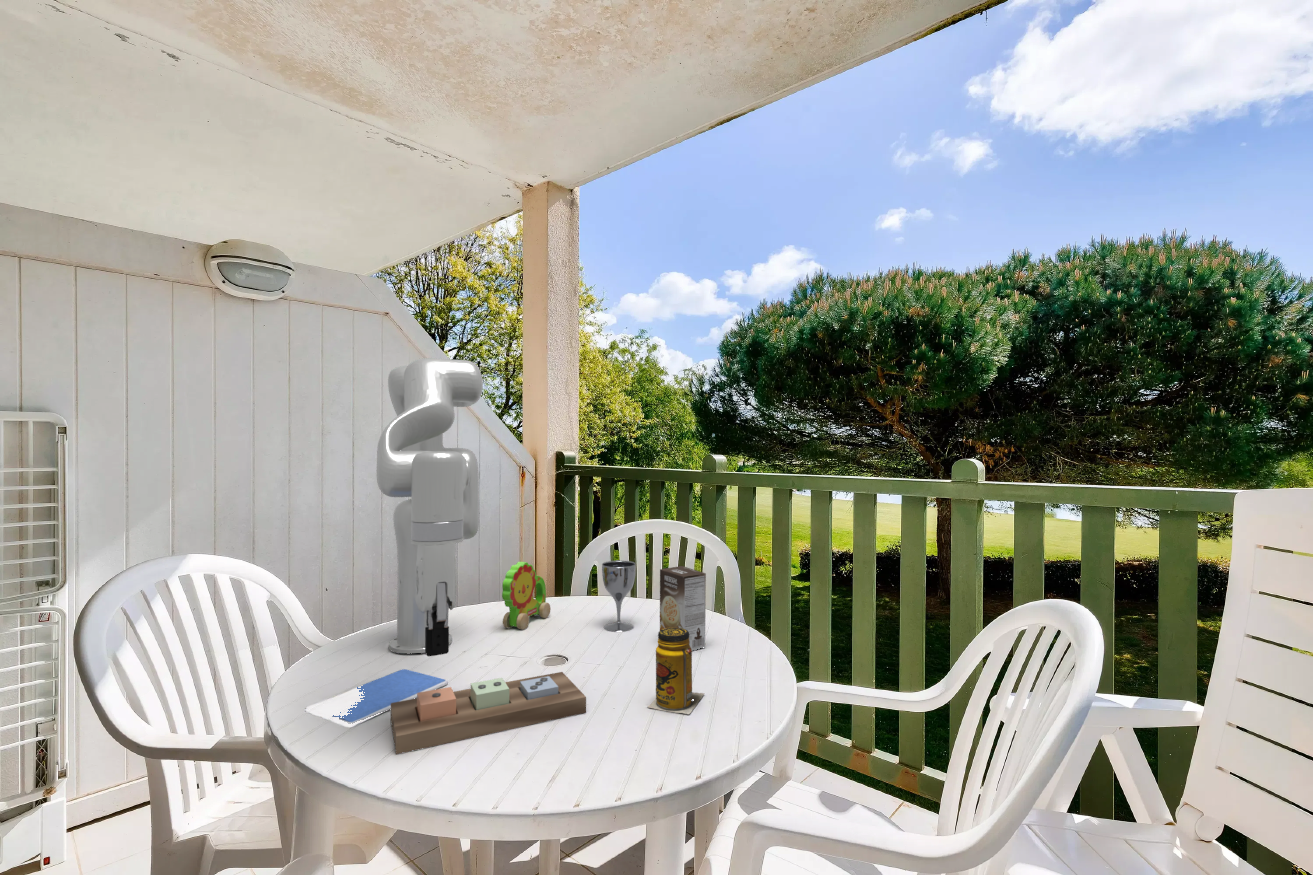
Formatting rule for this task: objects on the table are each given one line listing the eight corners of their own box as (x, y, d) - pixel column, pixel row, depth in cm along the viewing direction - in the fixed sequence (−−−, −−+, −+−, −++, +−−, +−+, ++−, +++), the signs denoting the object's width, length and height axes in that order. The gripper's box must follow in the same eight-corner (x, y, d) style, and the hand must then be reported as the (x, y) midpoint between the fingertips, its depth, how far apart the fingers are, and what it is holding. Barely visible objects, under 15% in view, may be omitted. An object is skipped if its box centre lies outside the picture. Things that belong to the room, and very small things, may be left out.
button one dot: (417, 712, 91) (417, 691, 91) (450, 705, 93) (451, 685, 93) (420, 725, 86) (420, 703, 87) (456, 718, 89) (456, 697, 89)
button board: (390, 719, 92) (390, 702, 92) (562, 685, 105) (562, 671, 105) (396, 754, 82) (396, 736, 82) (586, 712, 95) (586, 696, 95)
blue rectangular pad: (349, 732, 89) (349, 723, 89) (301, 714, 95) (301, 706, 95) (450, 686, 106) (450, 679, 106) (403, 674, 112) (403, 667, 112)
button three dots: (520, 699, 98) (520, 680, 98) (549, 693, 101) (549, 674, 101) (528, 711, 94) (528, 691, 94) (558, 705, 96) (558, 685, 96)
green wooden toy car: (533, 614, 151) (533, 554, 151) (551, 616, 149) (552, 556, 149) (495, 632, 136) (495, 566, 136) (515, 634, 134) (515, 567, 135)
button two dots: (470, 702, 95) (470, 681, 95) (501, 695, 97) (502, 676, 97) (476, 714, 90) (476, 693, 90) (509, 707, 93) (509, 687, 93)
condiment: (646, 708, 96) (646, 634, 97) (665, 688, 104) (665, 620, 104) (689, 715, 94) (689, 639, 94) (704, 695, 102) (704, 625, 102)
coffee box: (658, 642, 129) (658, 568, 129) (681, 636, 133) (681, 565, 133) (683, 654, 122) (683, 576, 122) (707, 648, 125) (707, 572, 125)
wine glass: (606, 621, 144) (606, 560, 145) (638, 622, 143) (638, 560, 144) (598, 631, 137) (598, 566, 137) (632, 632, 135) (632, 567, 136)
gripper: (406, 528, 95) (405, 643, 95) (416, 540, 82) (415, 673, 81) (455, 525, 99) (454, 636, 98) (471, 536, 85) (471, 664, 85)
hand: (436, 653), depth 90 cm, fingers closed
